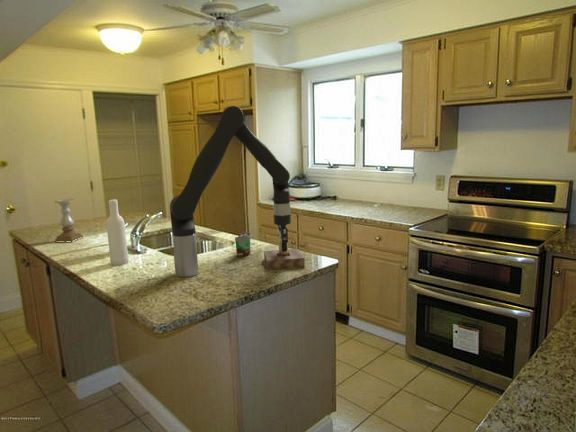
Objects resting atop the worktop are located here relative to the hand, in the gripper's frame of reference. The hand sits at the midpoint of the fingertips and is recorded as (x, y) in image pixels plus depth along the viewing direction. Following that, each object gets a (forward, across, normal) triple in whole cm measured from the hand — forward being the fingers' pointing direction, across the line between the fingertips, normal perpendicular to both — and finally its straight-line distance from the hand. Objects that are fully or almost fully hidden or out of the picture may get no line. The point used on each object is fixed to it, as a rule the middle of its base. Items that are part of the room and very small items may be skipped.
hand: (283, 248), depth 185 cm
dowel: (+7, 0, 0) cm, 7 cm away
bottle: (+7, -19, -75) cm, 78 cm away
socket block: (+7, 0, 0) cm, 7 cm away
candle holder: (+7, -77, -117) cm, 140 cm away
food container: (+7, -19, -16) cm, 26 cm away
